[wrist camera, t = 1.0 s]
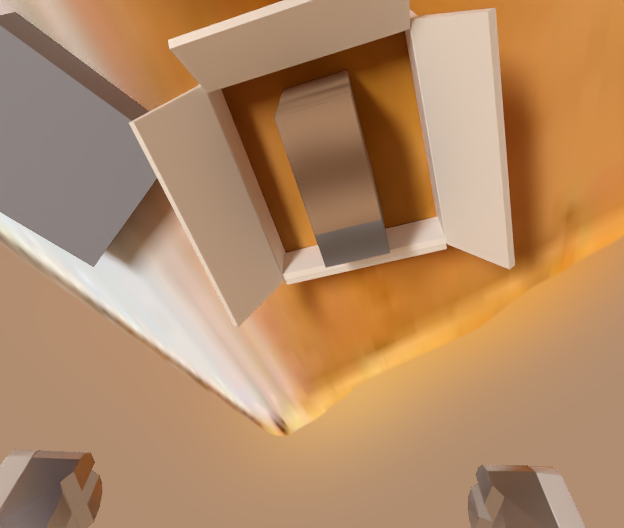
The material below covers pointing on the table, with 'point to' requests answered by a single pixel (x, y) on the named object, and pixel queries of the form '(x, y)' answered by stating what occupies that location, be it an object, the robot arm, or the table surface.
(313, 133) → the walnut block
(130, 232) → the table surface
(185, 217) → the carton
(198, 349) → the table surface
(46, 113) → the slate platform
